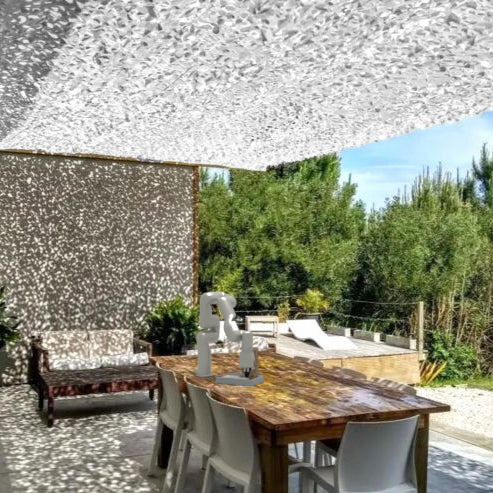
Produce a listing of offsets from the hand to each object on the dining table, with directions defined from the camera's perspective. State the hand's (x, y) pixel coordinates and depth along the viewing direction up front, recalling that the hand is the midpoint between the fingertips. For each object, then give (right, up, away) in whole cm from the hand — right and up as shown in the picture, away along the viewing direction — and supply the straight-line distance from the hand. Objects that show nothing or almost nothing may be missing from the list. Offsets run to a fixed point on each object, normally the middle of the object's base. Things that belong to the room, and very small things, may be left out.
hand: (247, 377), depth 419 cm
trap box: (-5, -4, +2) cm, 6 cm away
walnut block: (+4, -1, -1) cm, 4 cm away
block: (+2, -4, +24) cm, 25 cm away
